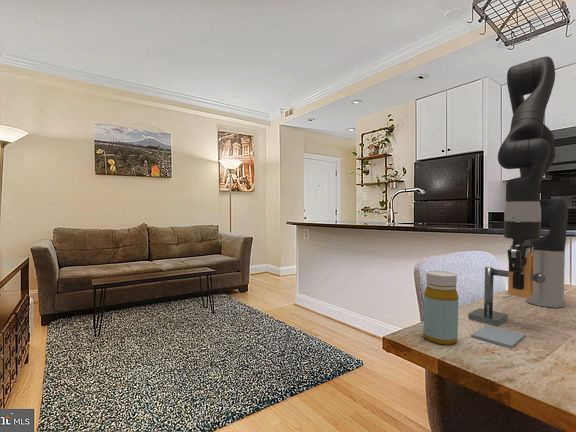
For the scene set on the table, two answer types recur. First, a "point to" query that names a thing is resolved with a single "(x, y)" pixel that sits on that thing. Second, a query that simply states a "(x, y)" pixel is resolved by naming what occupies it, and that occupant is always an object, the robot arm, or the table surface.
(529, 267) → the link
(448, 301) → the bottle
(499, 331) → the mat
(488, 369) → the table surface
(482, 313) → the stand
